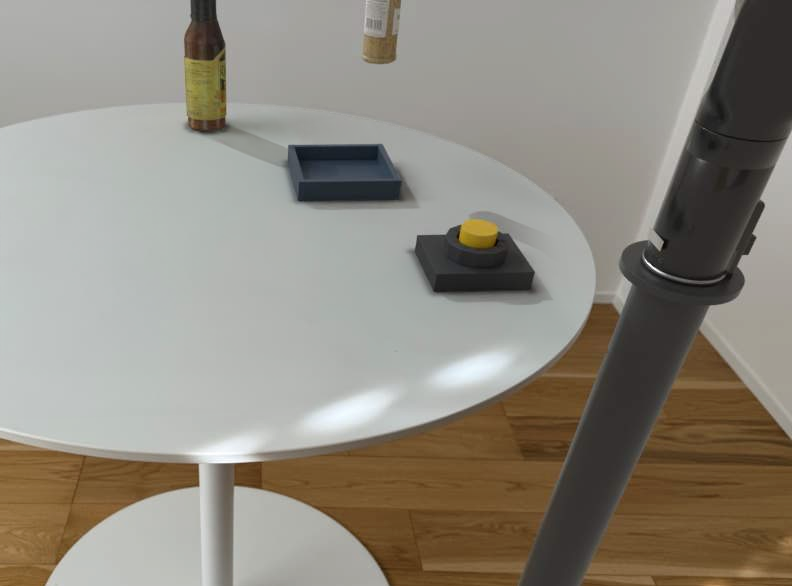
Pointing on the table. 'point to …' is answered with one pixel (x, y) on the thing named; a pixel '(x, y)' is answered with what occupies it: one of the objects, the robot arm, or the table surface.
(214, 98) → the sauce bottle
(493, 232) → the trigger button
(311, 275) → the table surface
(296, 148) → the tray
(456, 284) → the button housing
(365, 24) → the spice jar
